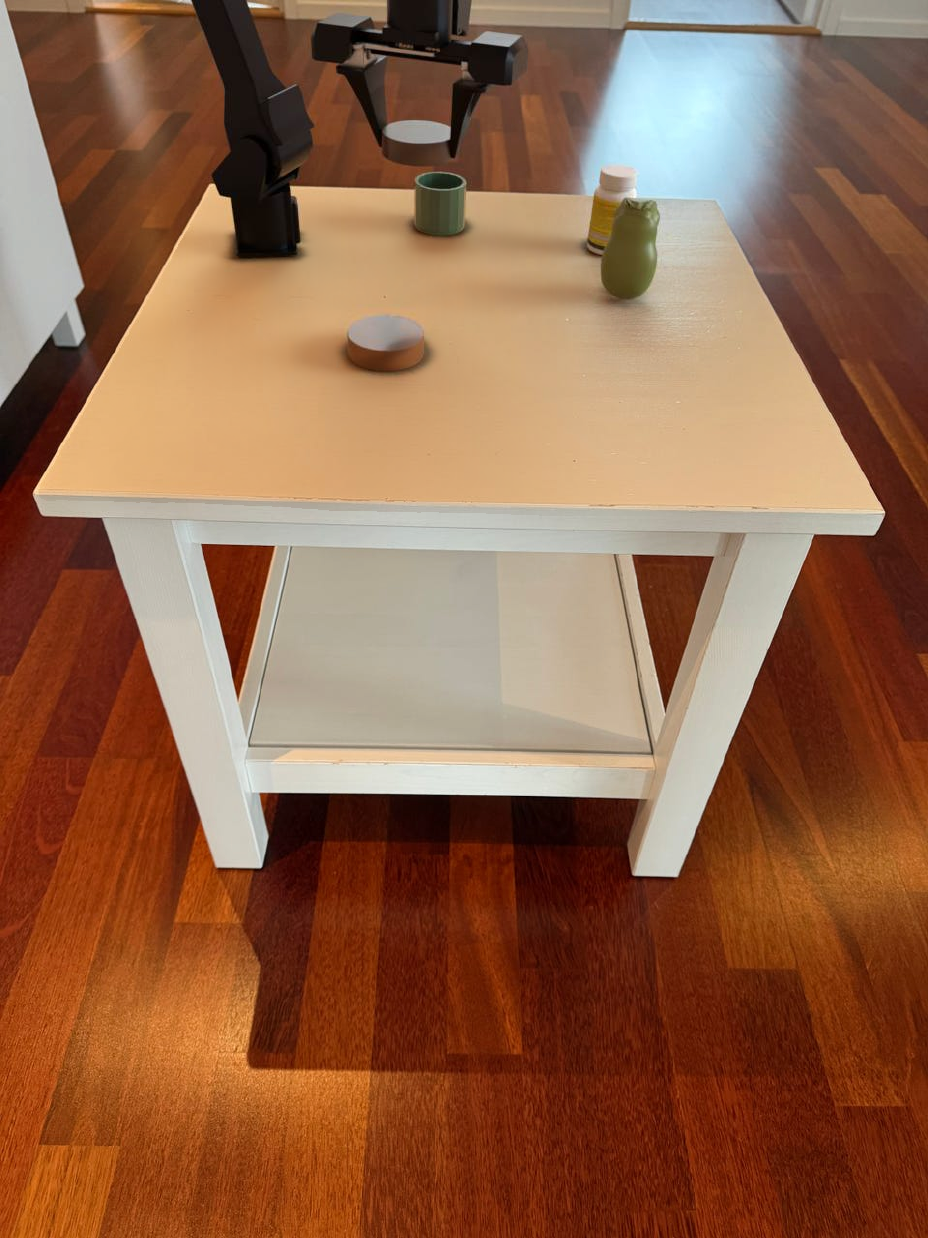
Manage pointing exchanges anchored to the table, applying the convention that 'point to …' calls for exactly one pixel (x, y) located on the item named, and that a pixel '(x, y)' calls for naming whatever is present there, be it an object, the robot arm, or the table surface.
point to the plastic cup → (439, 203)
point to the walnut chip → (416, 143)
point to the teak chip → (385, 342)
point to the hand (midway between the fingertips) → (418, 151)
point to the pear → (631, 249)
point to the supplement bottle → (609, 202)
